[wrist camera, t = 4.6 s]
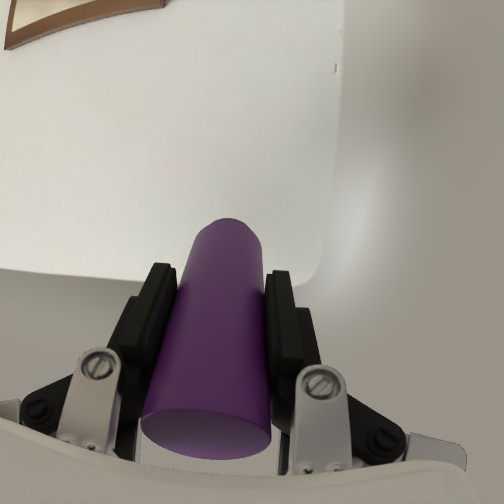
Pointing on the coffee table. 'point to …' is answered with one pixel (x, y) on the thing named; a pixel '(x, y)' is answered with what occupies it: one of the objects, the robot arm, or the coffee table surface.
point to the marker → (214, 353)
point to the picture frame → (62, 16)
